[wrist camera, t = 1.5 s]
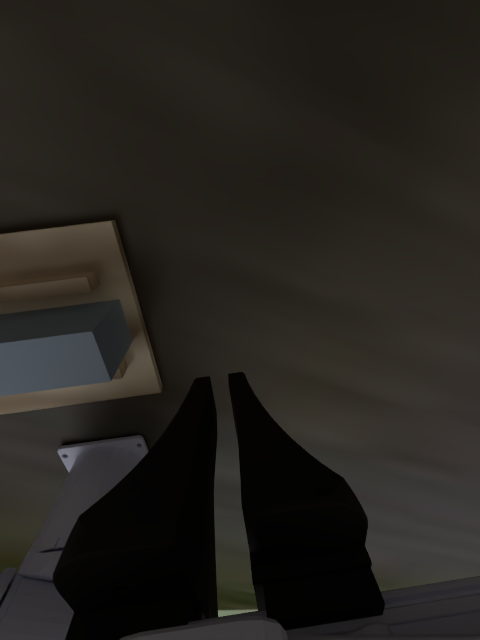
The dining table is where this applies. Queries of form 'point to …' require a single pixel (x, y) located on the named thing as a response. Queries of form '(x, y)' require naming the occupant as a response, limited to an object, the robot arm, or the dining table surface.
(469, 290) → the dining table surface
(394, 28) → the dining table surface
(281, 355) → the dining table surface
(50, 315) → the blue-grey rectangular block
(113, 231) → the shelf slot
